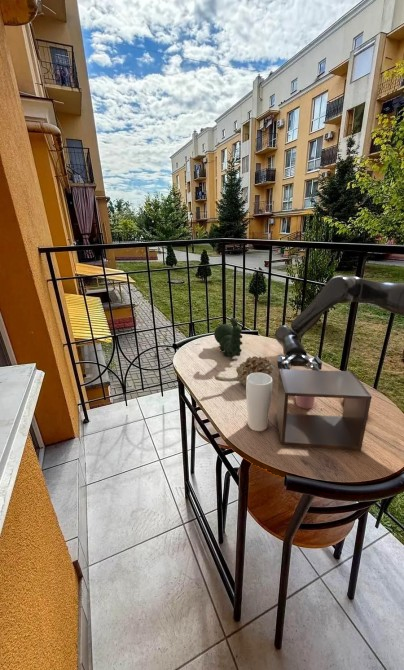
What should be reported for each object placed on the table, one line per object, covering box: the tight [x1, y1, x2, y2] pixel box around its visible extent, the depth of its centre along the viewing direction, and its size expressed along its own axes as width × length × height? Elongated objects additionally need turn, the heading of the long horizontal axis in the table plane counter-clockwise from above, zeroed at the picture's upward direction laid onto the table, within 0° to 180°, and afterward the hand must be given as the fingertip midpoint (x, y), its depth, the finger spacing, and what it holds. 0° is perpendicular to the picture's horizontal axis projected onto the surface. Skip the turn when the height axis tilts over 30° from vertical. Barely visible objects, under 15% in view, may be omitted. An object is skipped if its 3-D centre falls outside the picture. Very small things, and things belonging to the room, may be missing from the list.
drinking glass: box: [245, 373, 273, 432], centre depth 75 cm, size 7×7×15 cm
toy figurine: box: [213, 317, 244, 358], centre depth 124 cm, size 9×19×25 cm
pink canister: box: [295, 396, 316, 409], centre depth 85 cm, size 5×5×10 cm
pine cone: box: [213, 355, 273, 386], centre depth 97 cm, size 22×10×10 cm, turn 113°
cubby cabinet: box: [275, 368, 373, 452], centre depth 72 cm, size 19×12×15 cm, turn 82°
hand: (302, 372), depth 90 cm, fingers open, 8 cm apart
